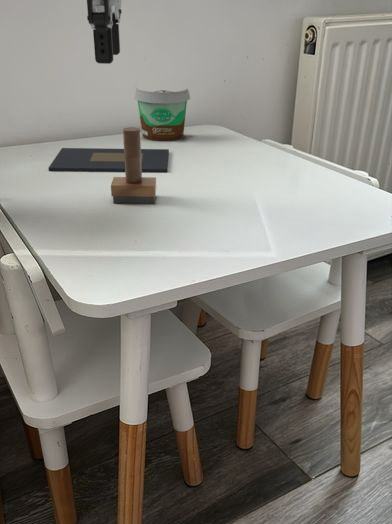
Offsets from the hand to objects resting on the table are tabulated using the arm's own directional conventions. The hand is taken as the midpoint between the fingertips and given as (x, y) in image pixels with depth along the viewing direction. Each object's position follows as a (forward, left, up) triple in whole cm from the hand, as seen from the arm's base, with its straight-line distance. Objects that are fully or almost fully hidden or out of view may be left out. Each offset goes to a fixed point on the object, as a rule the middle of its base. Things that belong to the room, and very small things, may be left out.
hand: (108, 58), depth 74 cm
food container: (+6, +46, -22) cm, 51 cm away
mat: (-4, +28, -21) cm, 36 cm away
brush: (+2, +6, -21) cm, 22 cm away
